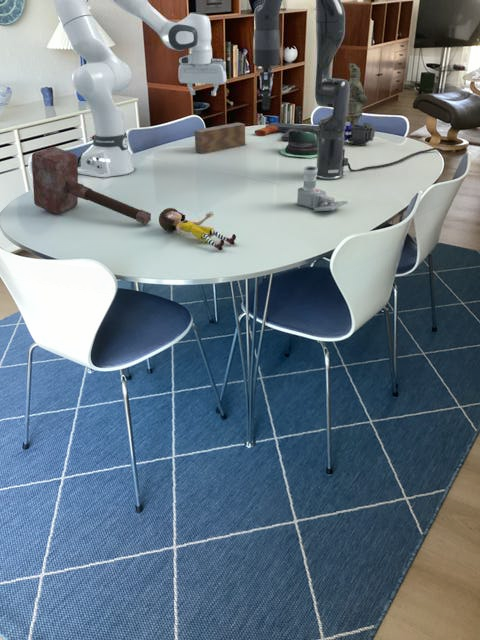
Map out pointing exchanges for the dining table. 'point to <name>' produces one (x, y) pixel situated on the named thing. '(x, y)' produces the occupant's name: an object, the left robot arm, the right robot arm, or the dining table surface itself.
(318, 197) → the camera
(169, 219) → the figurine
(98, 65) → the left robot arm
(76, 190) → the sledgehammer
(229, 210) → the dining table surface
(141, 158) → the dining table surface
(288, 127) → the submachine gun
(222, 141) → the bar
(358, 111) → the statue
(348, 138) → the toy
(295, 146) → the green brimmed hat
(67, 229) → the dining table surface
